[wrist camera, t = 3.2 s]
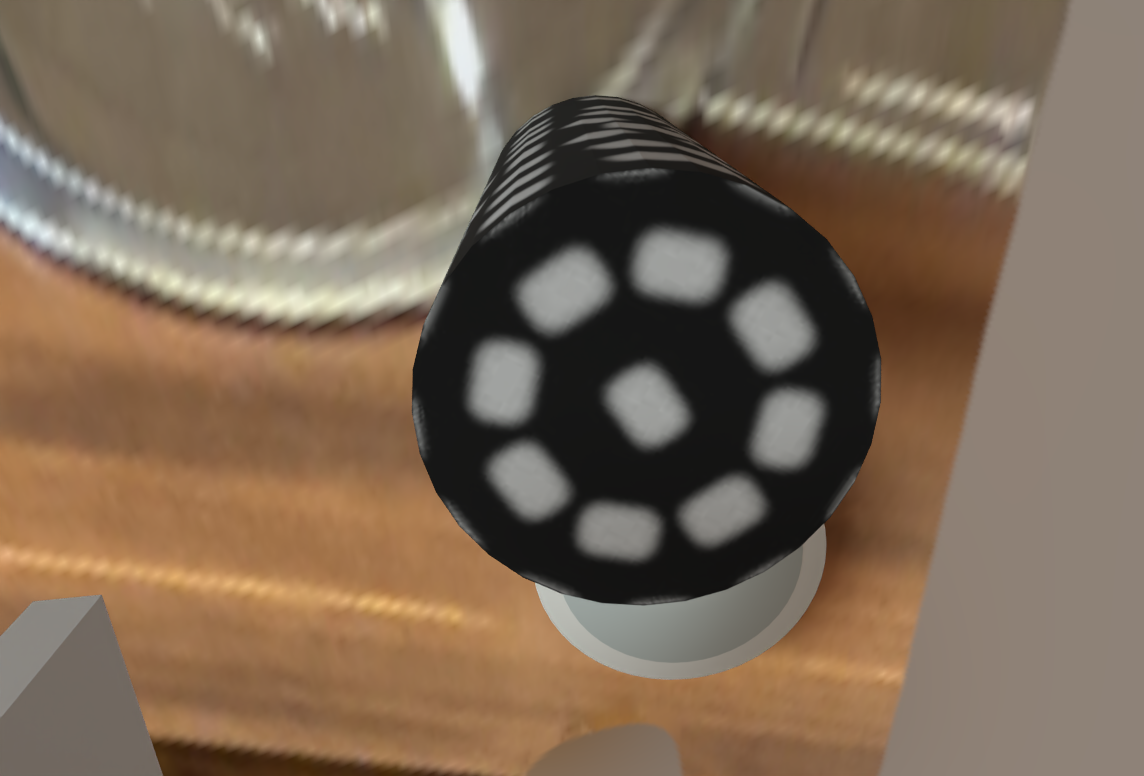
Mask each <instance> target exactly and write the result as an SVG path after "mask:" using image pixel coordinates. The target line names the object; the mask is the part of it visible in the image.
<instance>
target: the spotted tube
mask: <svg viewBox="0 0 1144 776" xmlns="http://www.w3.org/2000/svg"><path fill="white" fill-rule="evenodd" d="M880 403H881V356H880V351H879V347H878V342H877V337H876V332H875V327H874V322H873V318H872V315H871V313H870V310H869V308H868V306H867V304H866V301H865V299H864V297H863V295H862V292H861V290H860V288H859V286H858V284H857V281H856V279H855V277H854V275H853V274H852V273H851V271H850V270H849V268H848V267H847V266H846V264H845V263H844V262H843V260H842V259H841V258H840V256H839V255H838V254H837V252H836V251H835V250H834V248H833V247H832V246H831V244H830V243H829V242H828V240H827V239H826V238H825V237H823V236H822V235H821V234H820V233H819V232H818V231H816V230H815V229H814V228H813V227H812V226H811V225H809V224H808V223H807V222H806V221H805V220H804V219H802V218H801V217H800V216H799V215H798V214H797V213H795V212H794V211H793V210H792V209H791V208H789V207H788V206H786V205H785V204H784V203H782V202H781V201H779V200H778V199H777V198H775V197H774V196H772V195H771V194H770V193H768V192H767V191H765V190H764V189H763V188H761V187H760V186H758V185H757V184H756V183H754V182H753V181H751V180H750V179H748V178H747V177H746V176H744V175H743V174H741V173H740V172H739V171H737V170H736V169H734V168H733V167H732V166H730V165H729V164H727V163H726V162H725V161H723V160H722V159H720V158H719V157H717V156H716V155H715V154H713V153H712V152H710V151H709V150H708V149H706V148H705V147H703V146H702V145H701V144H699V143H698V142H696V141H695V140H694V139H692V138H691V137H689V136H688V135H687V134H685V133H684V132H682V131H681V130H679V129H678V128H677V127H675V126H674V125H672V124H671V123H670V122H668V121H667V120H665V119H664V118H663V117H661V116H660V115H658V114H657V113H655V112H653V111H651V110H649V109H648V108H646V107H644V106H642V105H640V104H638V103H635V102H631V101H628V100H625V99H622V98H618V97H608V96H597V95H594V96H586V97H578V98H572V99H569V100H566V101H563V102H560V103H557V104H554V105H552V106H550V107H548V108H546V109H545V110H543V111H541V112H540V113H538V114H536V115H534V116H533V117H532V118H531V119H529V120H528V121H527V122H526V123H525V124H524V125H523V126H522V127H520V128H519V129H518V130H517V131H516V132H515V134H514V135H513V136H512V138H511V139H510V140H509V142H508V143H507V144H506V146H505V147H504V148H503V150H502V152H501V154H500V157H499V159H498V161H497V163H496V165H495V167H494V169H493V171H492V174H491V176H490V178H489V180H488V183H487V185H486V187H485V189H484V191H483V194H482V196H481V198H480V200H479V203H478V205H477V207H476V209H475V212H474V214H473V216H472V218H471V220H470V223H469V225H468V227H467V229H466V232H465V234H464V236H463V238H462V240H461V243H460V245H459V247H458V249H457V252H456V254H455V256H454V258H453V260H452V263H451V265H450V267H449V269H448V272H447V274H446V276H445V278H444V280H443V283H442V285H441V287H440V289H439V292H438V294H437V296H436V298H435V301H434V303H433V305H432V307H431V309H430V312H429V314H428V316H427V318H426V321H425V323H424V325H423V329H422V333H421V337H420V341H419V345H418V350H417V354H416V358H415V362H414V366H413V387H412V415H413V420H414V426H415V431H416V436H417V441H418V446H419V451H420V455H421V457H422V460H423V462H424V465H425V467H426V469H427V472H428V474H429V476H430V479H431V481H432V484H433V486H434V488H435V491H436V493H437V494H438V496H439V497H440V499H441V500H442V501H443V503H444V504H445V506H446V507H447V509H448V510H449V512H450V513H451V515H452V516H453V517H454V519H455V520H456V522H457V523H458V525H459V526H460V527H461V528H462V529H463V530H464V531H465V532H466V533H467V534H468V535H469V536H470V537H471V538H472V539H473V540H474V541H475V542H476V543H477V544H478V545H479V546H480V547H481V548H482V549H483V550H485V551H486V552H487V553H488V554H489V555H490V556H491V557H493V558H495V559H496V560H498V561H499V562H501V563H502V564H504V565H505V566H507V567H508V568H510V569H511V570H513V571H514V572H516V573H517V574H519V575H520V576H522V577H523V578H526V579H528V580H530V581H533V582H535V583H537V584H540V585H542V586H544V587H547V588H549V589H551V590H554V591H556V592H558V593H561V594H565V595H569V596H573V597H578V598H582V599H586V600H590V601H595V602H599V603H607V604H624V605H641V606H645V605H655V604H664V603H673V602H682V601H688V600H692V599H695V598H699V597H702V596H706V595H710V594H713V593H717V592H720V591H724V590H727V589H729V588H731V587H733V586H736V585H738V584H740V583H742V582H744V581H746V580H748V579H750V578H753V577H755V576H757V575H759V574H761V573H763V572H765V571H767V570H768V569H770V568H771V567H772V566H774V565H775V564H777V563H778V562H780V561H781V560H782V559H784V558H785V557H787V556H788V555H790V554H791V553H793V552H794V551H795V550H797V549H798V548H800V547H801V546H802V545H803V544H804V543H805V542H806V541H807V540H808V539H809V538H810V537H811V536H812V535H813V534H814V533H815V532H816V531H817V530H818V529H819V528H820V527H821V526H822V525H823V524H824V523H825V522H826V521H827V520H828V519H829V518H830V517H831V515H832V514H833V512H834V511H835V509H836V508H837V507H838V505H839V504H840V502H841V501H842V499H843V498H844V497H845V495H846V494H847V492H848V491H849V489H850V488H851V486H852V485H853V484H854V482H855V480H856V477H857V475H858V473H859V471H860V468H861V466H862V464H863V462H864V459H865V457H866V455H867V452H868V450H869V448H870V446H871V443H872V439H873V434H874V430H875V425H876V421H877V416H878V412H879V407H880Z"/></svg>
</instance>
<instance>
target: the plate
mask: <svg viewBox="0 0 1144 776" xmlns="http://www.w3.org/2000/svg"><path fill="white" fill-rule="evenodd" d="M825 558H826V532H825V525H824V524H823V525H822V526H821V527H820V528H819V529H818V530H817V531H816V532H815V533H814V534H813V535H812V536H811V537H810V538H809V539H808V540H807V541H806V542H805V543H804V544H803V545H802V546H801V547H800V548H798V549H797V550H795V551H794V552H793V553H791V554H790V555H788V556H787V557H785V558H784V559H782V560H781V561H780V562H778V563H777V564H775V565H774V566H772V567H771V568H770V569H768V570H767V571H765V572H763V573H761V574H759V575H757V576H755V577H753V578H750V579H748V580H746V581H744V582H742V583H740V584H738V585H736V586H733V587H731V588H729V589H727V590H724V591H720V592H717V593H713V594H710V595H706V596H702V597H699V598H695V599H692V600H688V601H682V602H673V603H664V604H655V605H645V606H641V605H624V604H607V603H599V602H595V601H590V600H586V599H582V598H578V597H573V596H569V595H565V594H561V593H558V592H556V591H554V590H551V589H549V588H547V587H544V586H542V585H540V584H537V583H535V584H536V589H537V592H538V595H539V597H540V600H541V603H542V605H543V607H544V609H545V611H546V612H547V614H548V616H549V618H550V620H551V621H552V622H553V624H554V625H555V626H556V628H557V629H558V630H559V631H560V633H561V634H562V635H563V636H564V637H565V638H566V639H567V640H568V641H569V642H570V643H571V644H572V645H574V646H575V647H576V648H577V649H579V650H580V651H581V652H583V653H584V654H585V655H587V656H589V657H590V658H592V659H594V660H596V661H597V662H599V663H601V664H603V665H605V666H608V667H610V668H612V669H615V670H617V671H621V672H624V673H628V674H631V675H635V676H640V677H646V678H652V679H667V680H672V679H690V678H697V677H703V676H708V675H712V674H716V673H720V672H723V671H726V670H729V669H731V668H734V667H737V666H739V665H741V664H743V663H745V662H747V661H749V660H751V659H753V658H755V657H757V656H759V655H760V654H762V653H763V652H765V651H766V650H768V649H769V648H771V647H772V646H773V645H774V644H776V643H777V642H778V641H779V640H780V639H782V638H783V637H784V636H785V635H786V634H787V633H788V632H789V631H790V630H791V629H792V628H793V627H794V626H795V624H796V623H797V622H798V621H799V619H800V618H801V617H802V615H803V614H804V613H805V611H806V610H807V608H808V607H809V605H810V603H811V601H812V599H813V597H814V596H815V594H816V591H817V589H818V586H819V583H820V581H821V578H822V574H823V569H824V565H825Z"/></svg>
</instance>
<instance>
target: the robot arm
mask: <svg viewBox="0 0 1144 776" xmlns="http://www.w3.org/2000/svg"><path fill="white" fill-rule="evenodd" d="M0 776H163V775H162V772H161V769H160V766H159V763H158V760H157V757H156V754H155V751H154V748H153V745H152V742H151V739H150V736H149V733H148V730H147V727H146V724H145V721H144V719H143V716H142V713H141V710H140V707H139V704H138V701H137V698H136V695H135V692H134V689H133V686H132V683H131V680H130V677H129V674H128V671H127V668H126V665H125V662H124V659H123V656H122V653H121V651H120V648H119V645H118V642H117V639H116V636H115V633H114V630H113V627H112V624H111V621H110V618H109V615H108V612H107V609H106V606H105V603H104V600H103V597H102V595H94V596H84V597H74V598H64V599H54V600H44V601H34V602H32V603H31V604H30V605H29V606H28V607H27V608H26V610H25V611H24V612H23V613H22V614H21V615H20V616H19V617H18V618H17V619H16V620H15V621H14V622H13V623H12V625H11V626H10V627H9V628H8V629H7V630H6V631H5V632H4V633H3V634H2V635H1V636H0Z"/></svg>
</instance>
